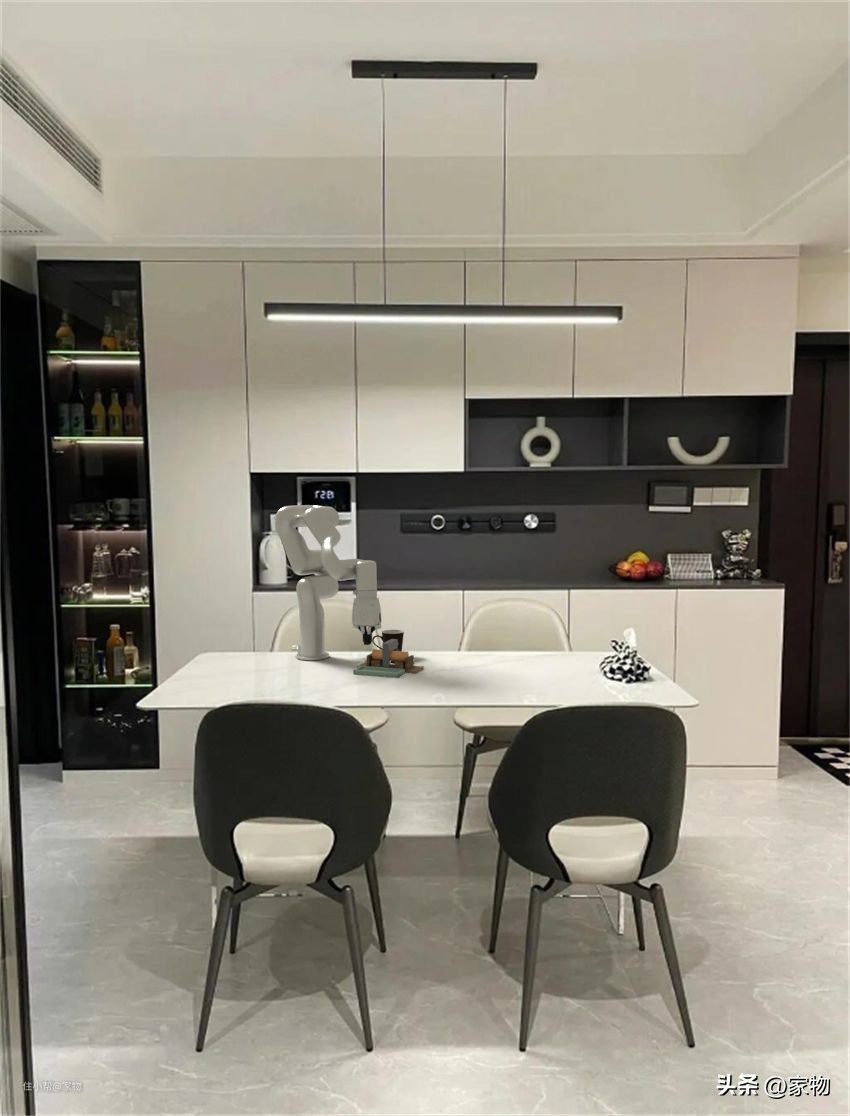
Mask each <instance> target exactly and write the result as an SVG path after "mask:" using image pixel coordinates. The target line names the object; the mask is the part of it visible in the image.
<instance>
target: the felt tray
mask: <svg viewBox="0 0 850 1116" xmlns="http://www.w3.org/2000/svg"><path fill="white" fill-rule="evenodd" d="M352 674H353V675H356V676H357V675H358V676H359V675H360V676H370V677H381V678H382V677H383V678H395V679H397V678H398V679H399V678H400V677H402V676H404V675H405V674H406V673H405V669H396V668H383V667H370V666H360V667H358V668H357V667H356V668H354V669H353V673H352Z"/></svg>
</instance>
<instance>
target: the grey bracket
mask: <svg viewBox="0 0 850 1116" xmlns="http://www.w3.org/2000/svg"><path fill="white" fill-rule="evenodd" d="M381 644H382V645H381V648H382V649H381V650H382V657H383V668H390V664H395V662H396V661H390V651H398V641H397V639H390V640H388V641H386V642H384V643H383V642H382V643H381Z"/></svg>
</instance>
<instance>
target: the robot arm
mask: <svg viewBox="0 0 850 1116" xmlns="http://www.w3.org/2000/svg"><path fill="white" fill-rule="evenodd" d="M339 523H340V515H339V512H338V511H337V510H336V509H335V508H334V507H332V506H325V505H324V506H323V505H310V504H305V505H302V504H301V505H285V506H283V507H281V508H280V509H279V510H277V512H276V514H275V517H274V526H275V527H274V528H275V530H276V533H277V535H278V538H279V540H280V541H281V543H282V545H283V548H284V550H285V554H286V556H287V559H288V561H289V564H290V567H291V569H292V572H293V573H294V574H295V575H298V576H305V577H302V578H301V579H300V580H298V582H297V584H296V587H295V588H296V595H297V596H296V597H297V602H298V609H299V645H292V646H291V652H297V654H295V655H296V658H297V660H302V661H319V660H326V659H328V658H329V657H330V653H329V652H327V651H326V637H325V636H326V635H325V633H326V631H325V627H326V626H325V609H324V607H323V605H322V603H321V600H325V599H332V598H334V597H335V596H336V595H337V594H338V592H339V581H340V582H342V581H348V580H355V590H353V591H352V595H354V596H355V598H353V602H352V609H351V611H352V612H351V624H352V627H353V628H354V629H357V630H358V631H360V633H361V634H362V642H363V646H369V645H371V644H372V643H373V642H372V639H373V633H375V631H376V630H380V629H382V610H381V609H382V608H381V604H380V598H379V597H378V589H377V587H378V581H377V579H378V578H377V574H378V573H377V563H376V561H375V560H371V559H370V560H369V559H367V560H364V559H360V558H347V559H340V558H339V557H338V555H337V554H336V552H335V551H334V547H336V546H337V545H338V544H339V542H340V541H341V539H342V537H341V533H340V531H339V530H338V528H336V527H337V526H338V525H339ZM296 528H308V530H309V531H310V533H311V534H312V535H313V537H314V538H315V540H316V541H317V542H318V544H319V546H320V547H321V548H320V549H310V548H309V547H308V545H307V542H306V539H305V537H304V536H303V534H302V533H300V532H299V530H297V529H296ZM306 575H307V576H306ZM308 575H309V576H308ZM310 575H311V576H310Z"/></svg>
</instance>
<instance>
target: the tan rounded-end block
mask: <svg viewBox="0 0 850 1116" xmlns="http://www.w3.org/2000/svg"><path fill="white" fill-rule="evenodd" d="M371 653H372V659H377V660H383V657H382V649H372V652H371ZM409 656H410V654H409V652H408V651H403V650H402V651H390V662H391V661H405V659H406V658H407V657H409Z"/></svg>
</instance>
